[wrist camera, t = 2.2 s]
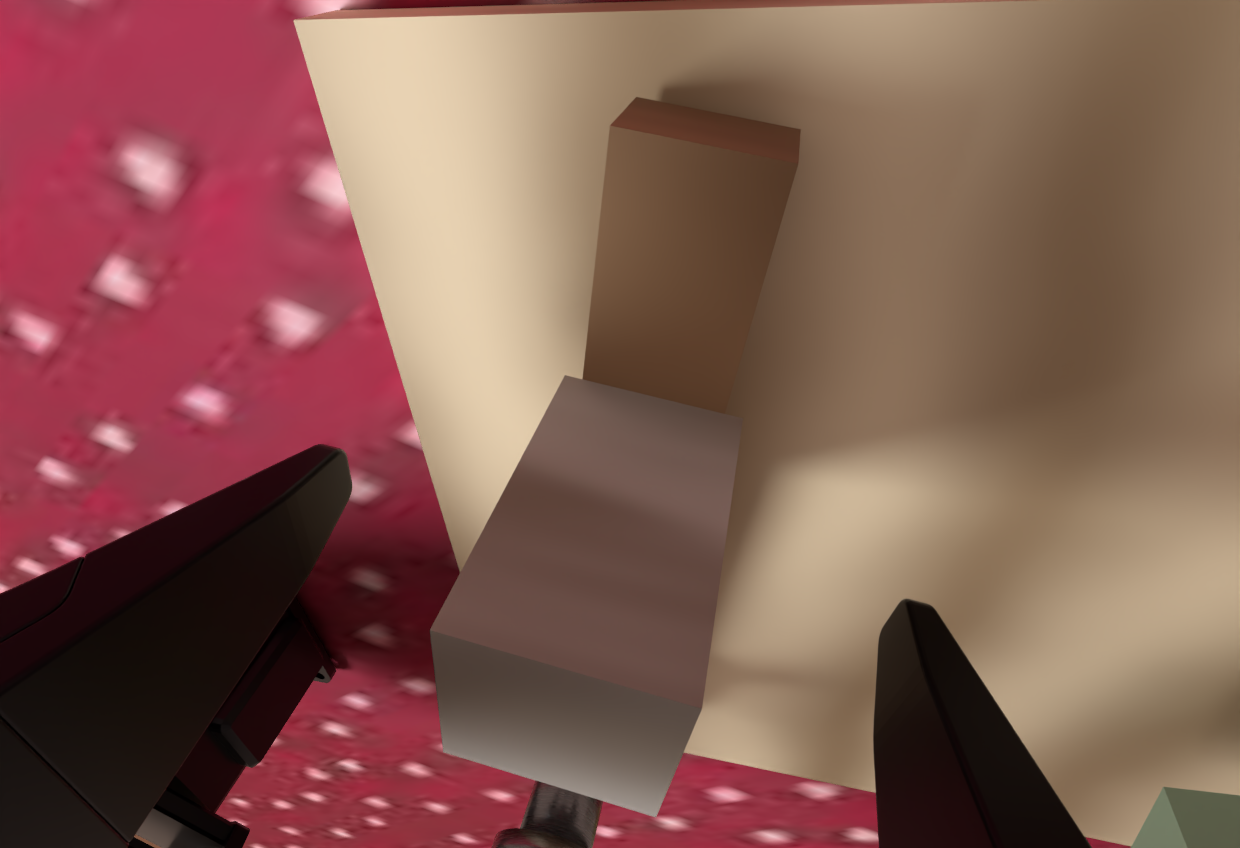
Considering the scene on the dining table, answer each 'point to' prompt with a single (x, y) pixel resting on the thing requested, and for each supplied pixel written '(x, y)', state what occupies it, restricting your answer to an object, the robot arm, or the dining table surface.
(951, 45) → the base plate
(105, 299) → the dining table surface
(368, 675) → the dining table surface
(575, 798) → the knob
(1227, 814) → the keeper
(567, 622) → the link
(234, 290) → the dining table surface
